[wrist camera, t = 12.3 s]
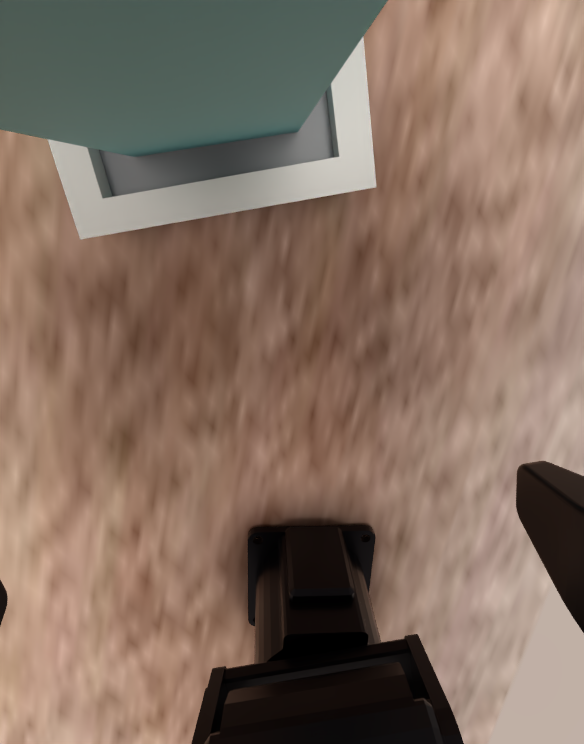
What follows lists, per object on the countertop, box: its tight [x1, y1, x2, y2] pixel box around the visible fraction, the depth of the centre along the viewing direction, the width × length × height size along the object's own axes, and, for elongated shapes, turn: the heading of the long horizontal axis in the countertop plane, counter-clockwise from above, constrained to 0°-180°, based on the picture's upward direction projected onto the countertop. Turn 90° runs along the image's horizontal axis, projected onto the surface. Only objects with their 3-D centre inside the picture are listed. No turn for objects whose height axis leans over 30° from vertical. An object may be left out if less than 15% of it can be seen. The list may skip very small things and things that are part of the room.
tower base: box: [48, 37, 376, 239], centre depth 14 cm, size 9×9×4 cm
